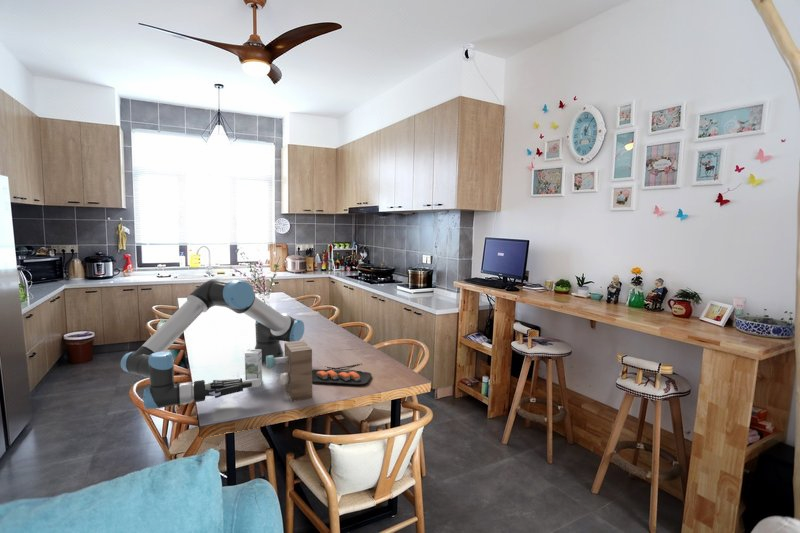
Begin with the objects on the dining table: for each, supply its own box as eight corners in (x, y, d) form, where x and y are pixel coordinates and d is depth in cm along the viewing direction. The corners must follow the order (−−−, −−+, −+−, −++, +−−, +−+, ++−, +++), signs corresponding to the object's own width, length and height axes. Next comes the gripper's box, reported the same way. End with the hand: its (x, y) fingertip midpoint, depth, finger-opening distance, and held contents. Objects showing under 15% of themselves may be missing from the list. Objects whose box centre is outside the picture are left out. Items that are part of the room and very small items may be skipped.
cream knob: (280, 382, 169) (280, 371, 169) (305, 379, 174) (305, 368, 173) (282, 386, 165) (282, 375, 165) (308, 382, 169) (308, 371, 169)
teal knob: (266, 365, 166) (265, 354, 165) (291, 362, 170) (291, 351, 170) (267, 369, 162) (267, 357, 161) (294, 365, 166) (294, 354, 166)
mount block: (285, 388, 175) (284, 342, 173) (304, 385, 178) (303, 340, 176) (292, 401, 162) (291, 351, 160) (312, 398, 166) (311, 349, 164)
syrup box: (262, 380, 184) (262, 348, 182) (258, 385, 178) (257, 352, 177) (249, 380, 184) (248, 348, 182) (245, 385, 178) (244, 352, 176)
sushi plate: (301, 384, 182) (301, 376, 181) (322, 362, 211) (322, 354, 211) (366, 388, 178) (366, 379, 178) (378, 365, 208) (379, 357, 207)
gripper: (193, 395, 158) (258, 385, 169) (193, 408, 147) (263, 397, 157) (192, 376, 158) (257, 367, 168) (193, 388, 146) (262, 378, 157)
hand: (260, 381), depth 163 cm, fingers closed
